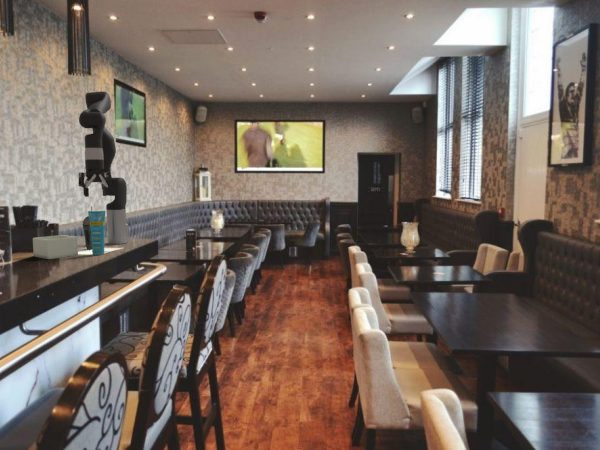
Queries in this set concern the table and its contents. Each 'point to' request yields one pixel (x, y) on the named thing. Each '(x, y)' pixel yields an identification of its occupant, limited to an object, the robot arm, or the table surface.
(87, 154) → the robot arm
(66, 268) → the table surface
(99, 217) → the tube
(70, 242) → the bin
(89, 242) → the beverage cup
